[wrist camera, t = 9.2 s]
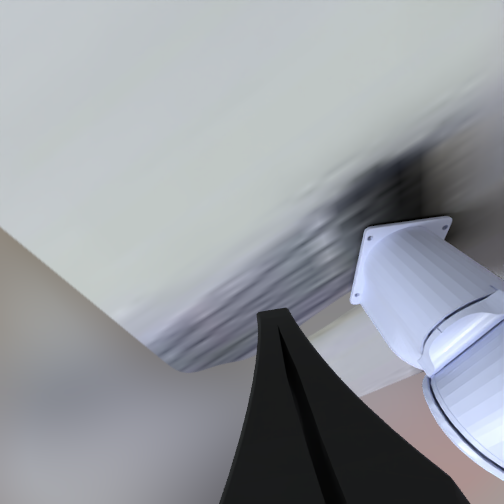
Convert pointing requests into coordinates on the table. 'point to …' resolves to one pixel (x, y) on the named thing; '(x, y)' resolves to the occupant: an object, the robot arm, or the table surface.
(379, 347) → the table surface
